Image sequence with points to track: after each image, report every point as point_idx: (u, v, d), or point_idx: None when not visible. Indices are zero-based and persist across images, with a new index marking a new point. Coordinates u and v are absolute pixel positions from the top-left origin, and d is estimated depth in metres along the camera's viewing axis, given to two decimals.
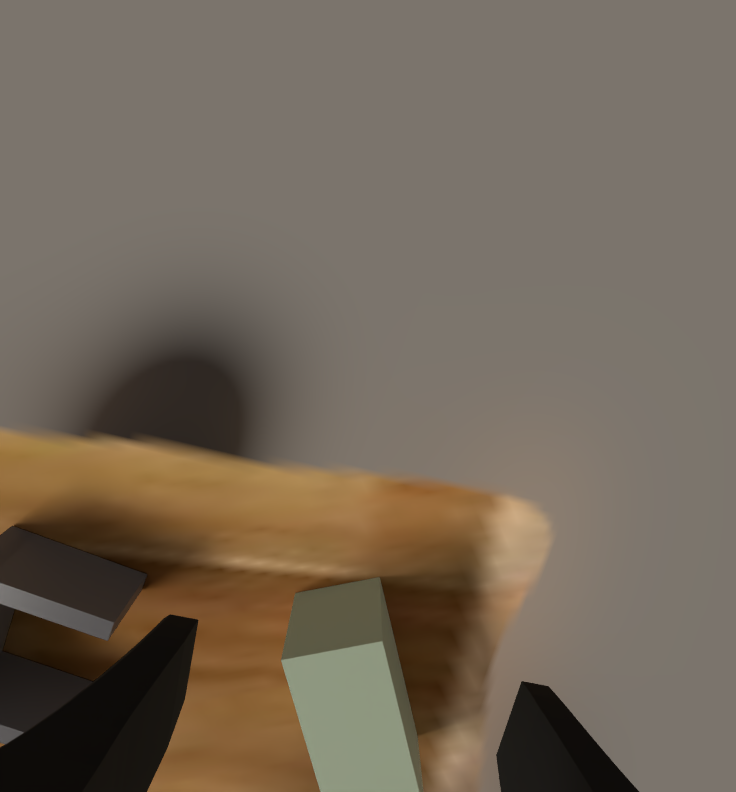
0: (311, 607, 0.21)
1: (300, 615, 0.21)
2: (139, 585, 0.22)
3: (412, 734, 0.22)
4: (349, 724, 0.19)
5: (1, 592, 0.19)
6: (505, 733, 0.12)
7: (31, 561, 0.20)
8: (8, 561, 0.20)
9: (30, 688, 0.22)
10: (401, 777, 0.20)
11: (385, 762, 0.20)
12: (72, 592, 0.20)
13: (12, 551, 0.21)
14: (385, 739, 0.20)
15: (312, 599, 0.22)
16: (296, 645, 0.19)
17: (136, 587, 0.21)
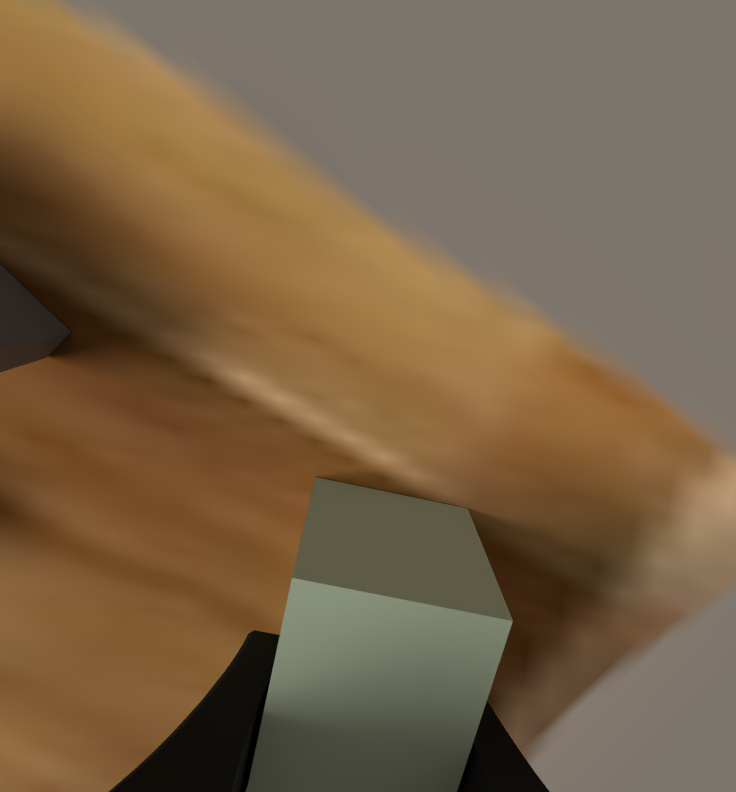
0: (347, 510, 0.11)
1: (328, 515, 0.11)
2: (50, 337, 0.11)
3: None
4: (356, 756, 0.09)
5: None
6: None
7: None
8: None
9: None
10: None
11: None
12: None
13: None
14: None
15: (348, 500, 0.12)
16: (324, 562, 0.09)
17: (44, 335, 0.11)
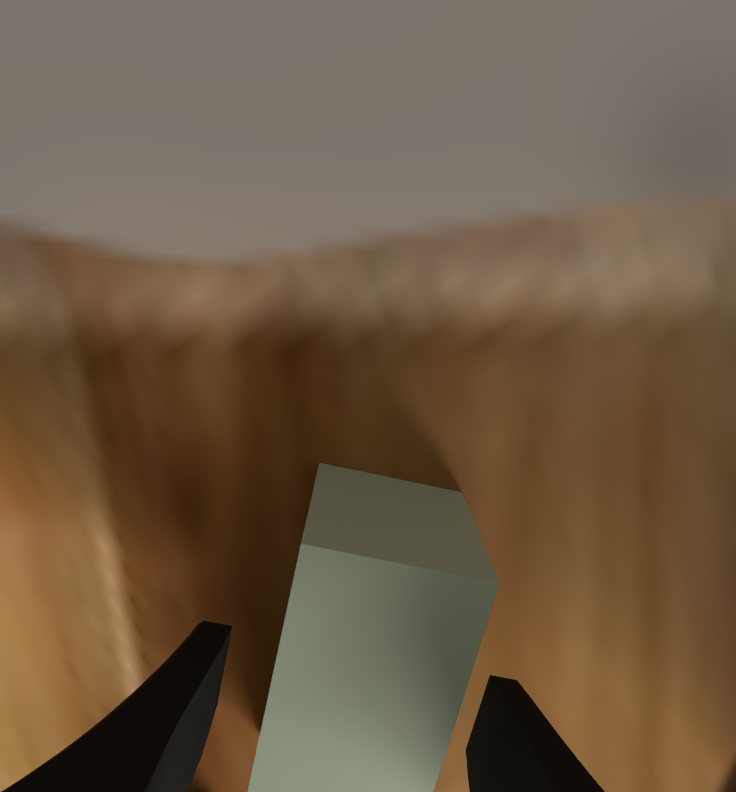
0: (350, 489, 0.12)
1: (332, 493, 0.12)
2: None
3: None
4: (358, 709, 0.10)
5: None
6: (474, 727, 0.12)
7: None
8: None
9: None
10: None
11: None
12: None
13: None
14: (404, 758, 0.11)
15: (351, 480, 0.13)
16: (329, 531, 0.10)
17: None
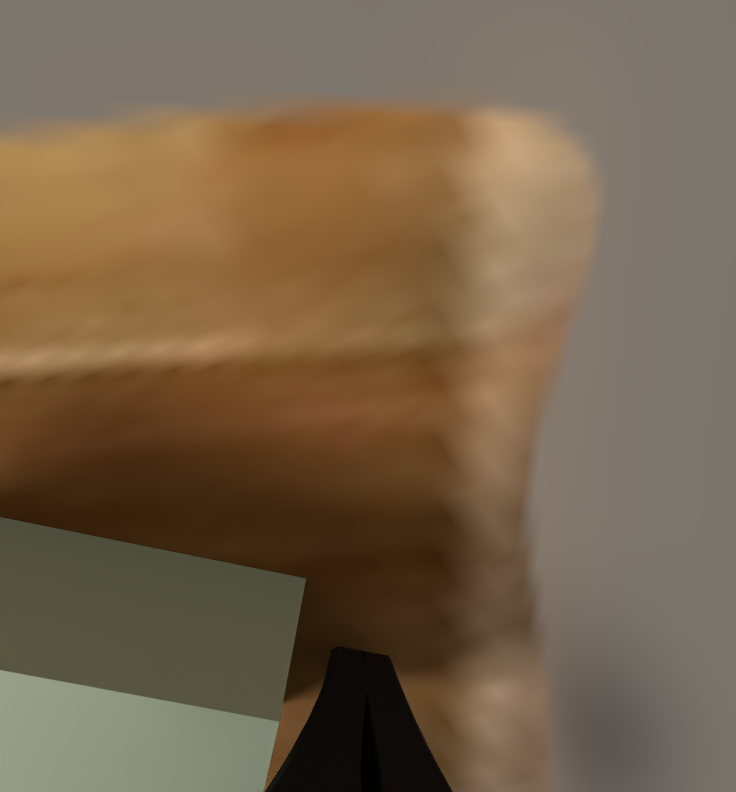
0: None
1: None
2: None
3: None
4: (70, 771, 0.09)
5: None
6: None
7: None
8: None
9: None
10: None
11: None
12: None
13: None
14: None
15: None
16: None
17: None
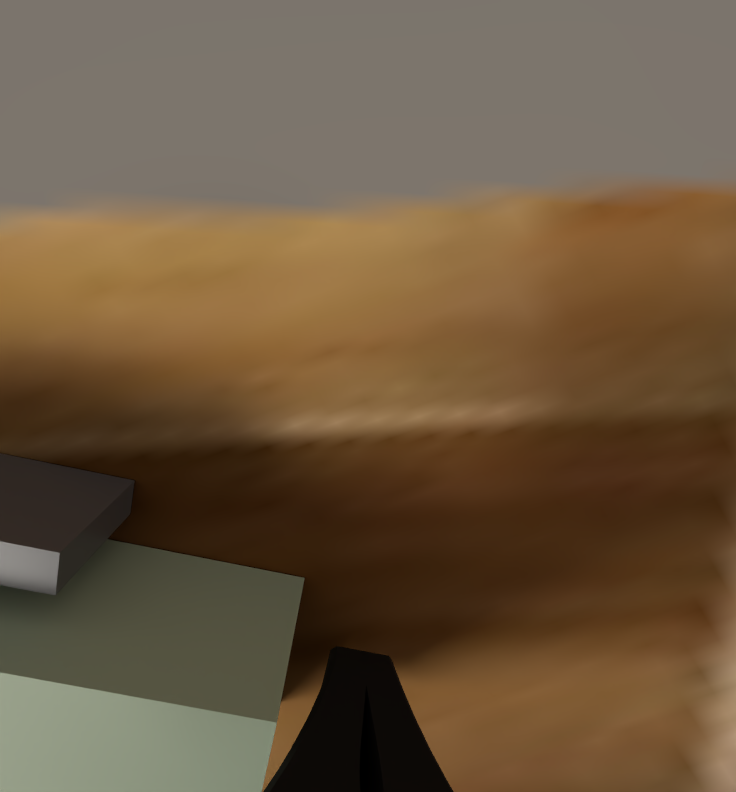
0: None
1: None
2: (119, 496, 0.11)
3: None
4: (67, 773, 0.09)
5: None
6: None
7: None
8: None
9: None
10: None
11: None
12: None
13: None
14: None
15: None
16: None
17: (112, 497, 0.11)
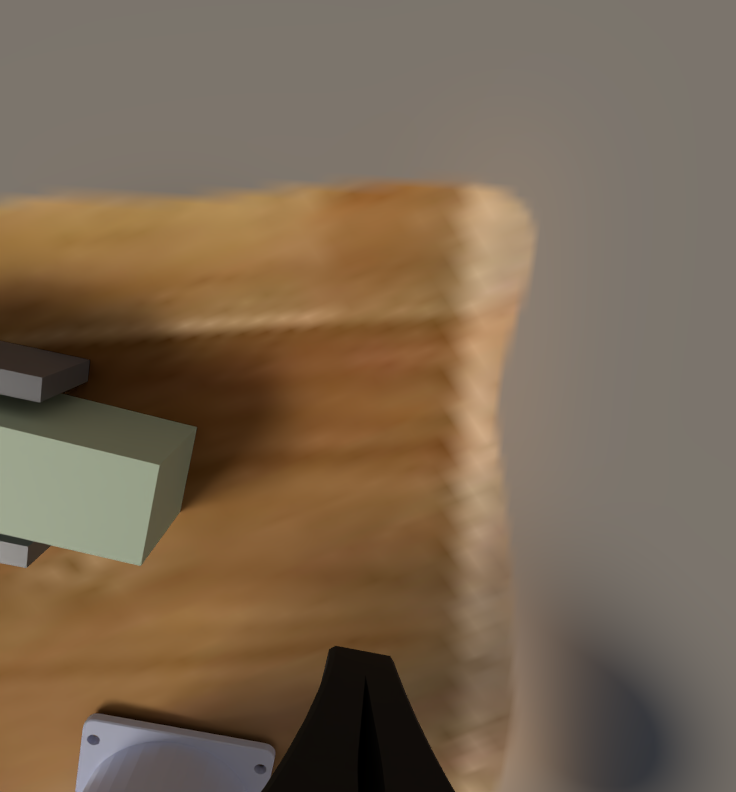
0: (183, 457, 0.20)
1: (181, 451, 0.19)
2: (79, 364, 0.19)
3: None
4: (50, 490, 0.17)
5: None
6: None
7: None
8: None
9: None
10: None
11: None
12: None
13: None
14: (15, 515, 0.17)
15: (187, 452, 0.20)
16: (164, 471, 0.17)
17: (75, 364, 0.19)
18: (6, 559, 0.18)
